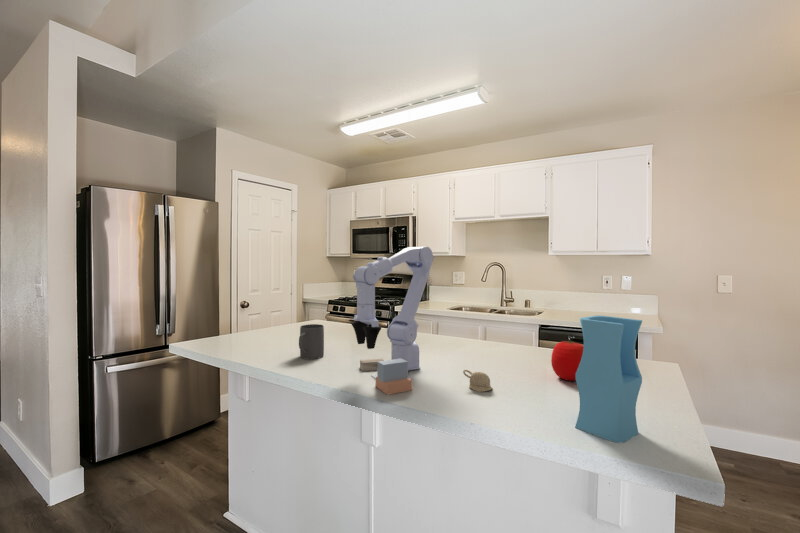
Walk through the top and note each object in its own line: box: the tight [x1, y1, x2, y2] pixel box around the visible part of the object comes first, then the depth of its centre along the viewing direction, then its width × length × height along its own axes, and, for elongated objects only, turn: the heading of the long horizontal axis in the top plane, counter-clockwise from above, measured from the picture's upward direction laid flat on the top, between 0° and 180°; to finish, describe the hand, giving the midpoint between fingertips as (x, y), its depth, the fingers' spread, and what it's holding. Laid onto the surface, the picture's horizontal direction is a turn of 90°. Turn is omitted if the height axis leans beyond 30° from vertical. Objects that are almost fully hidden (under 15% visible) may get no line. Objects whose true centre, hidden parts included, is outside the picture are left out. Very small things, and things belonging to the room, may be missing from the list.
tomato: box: [550, 339, 584, 382], centre depth 121 cm, size 12×12×13 cm
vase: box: [574, 315, 643, 444], centre depth 85 cm, size 10×10×25 cm
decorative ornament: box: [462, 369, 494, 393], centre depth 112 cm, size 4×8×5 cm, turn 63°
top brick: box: [376, 359, 409, 382], centre depth 112 cm, size 8×4×5 cm, turn 118°
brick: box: [359, 357, 385, 372], centre depth 133 cm, size 4×8×3 cm, turn 105°
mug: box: [298, 323, 325, 360], centre depth 147 cm, size 14×9×12 cm
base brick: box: [375, 376, 413, 395], centre depth 112 cm, size 8×8×3 cm
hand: (365, 346), depth 122 cm, fingers open, 7 cm apart
